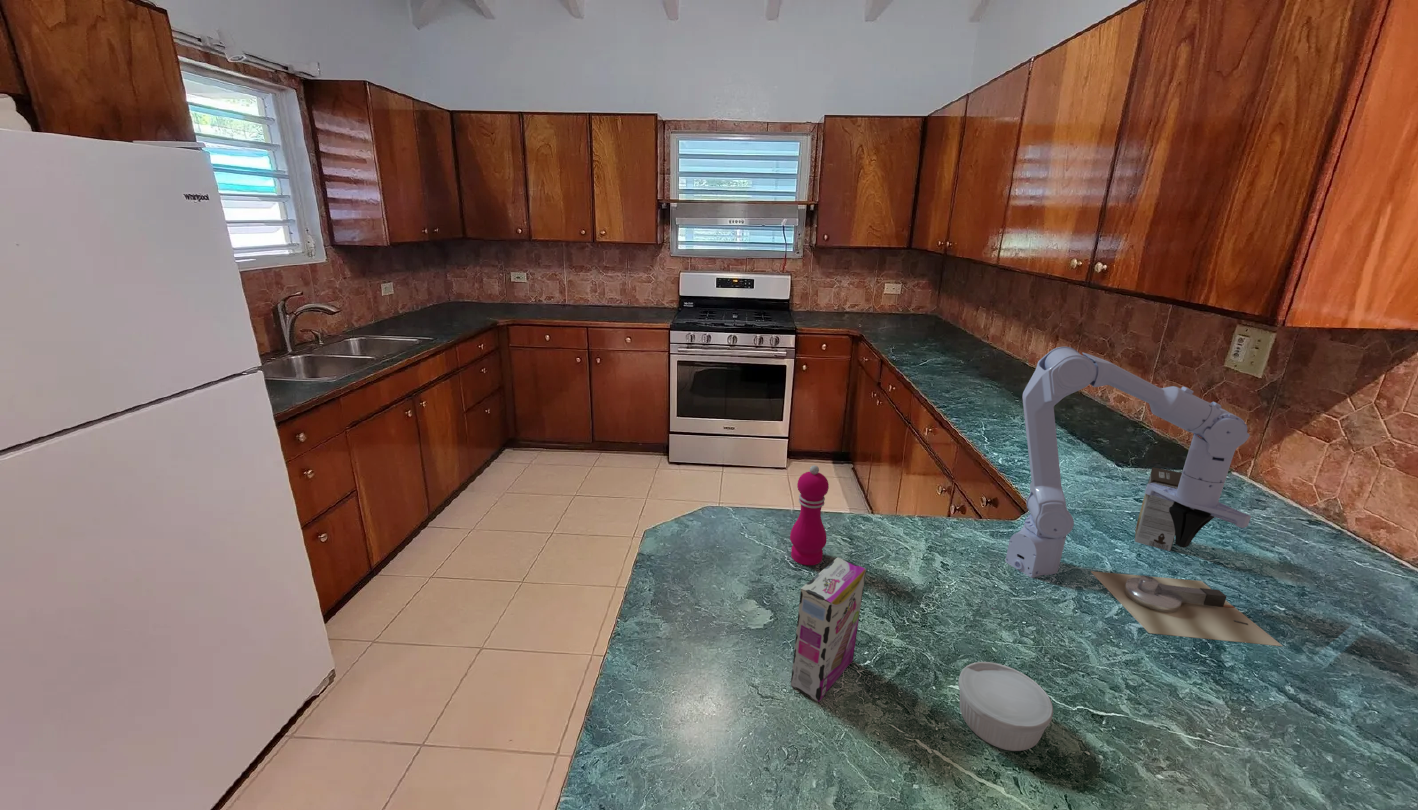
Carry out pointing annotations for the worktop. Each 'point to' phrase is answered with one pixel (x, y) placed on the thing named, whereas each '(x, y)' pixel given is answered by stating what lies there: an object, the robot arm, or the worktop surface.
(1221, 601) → the dial
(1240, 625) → the dial board
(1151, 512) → the coffee box
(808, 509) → the pepper mill
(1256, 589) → the worktop surface
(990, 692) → the ramekin
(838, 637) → the candy bar box
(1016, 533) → the robot arm
